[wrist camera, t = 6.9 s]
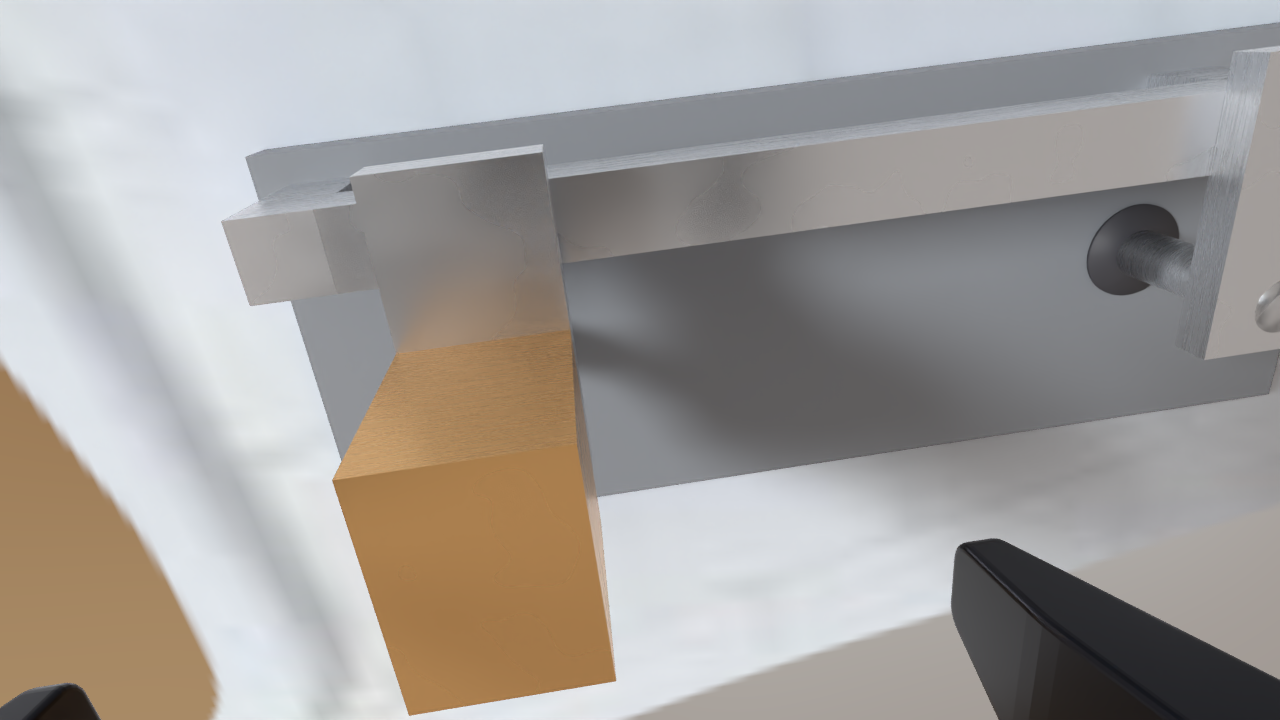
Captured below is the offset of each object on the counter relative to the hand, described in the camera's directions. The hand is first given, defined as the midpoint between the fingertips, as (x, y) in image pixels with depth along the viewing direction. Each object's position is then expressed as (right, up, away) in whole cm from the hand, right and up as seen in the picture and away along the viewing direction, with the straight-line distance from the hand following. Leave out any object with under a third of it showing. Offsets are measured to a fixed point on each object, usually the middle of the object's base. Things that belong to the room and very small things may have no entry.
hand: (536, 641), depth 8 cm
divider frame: (+4, +6, +10) cm, 13 cm away
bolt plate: (+6, +5, +12) cm, 15 cm away
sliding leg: (-2, +5, +10) cm, 11 cm away
